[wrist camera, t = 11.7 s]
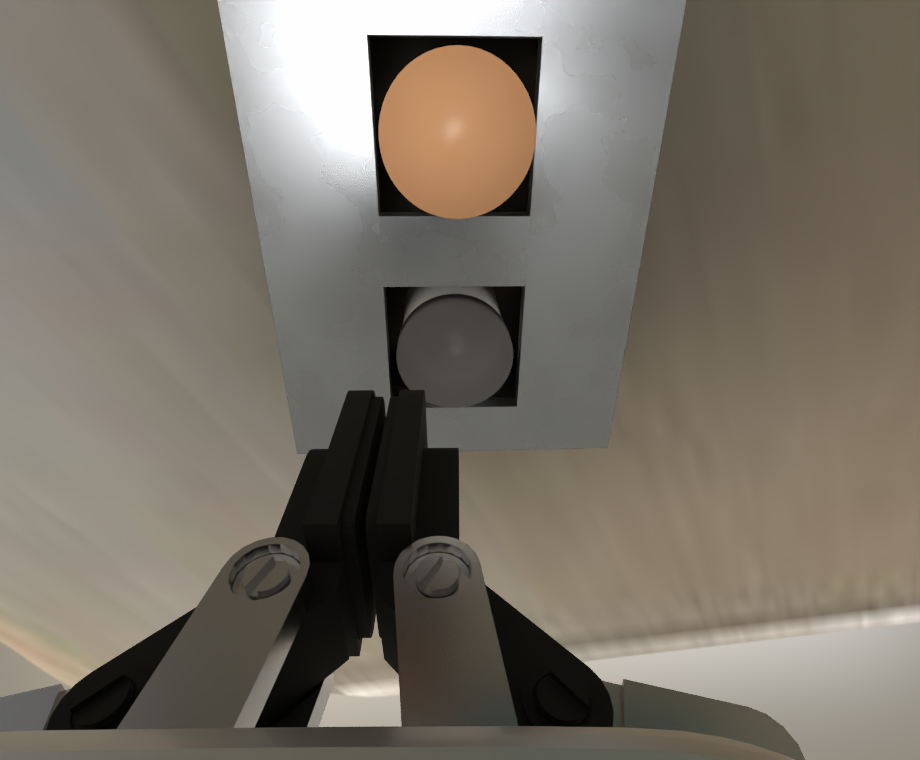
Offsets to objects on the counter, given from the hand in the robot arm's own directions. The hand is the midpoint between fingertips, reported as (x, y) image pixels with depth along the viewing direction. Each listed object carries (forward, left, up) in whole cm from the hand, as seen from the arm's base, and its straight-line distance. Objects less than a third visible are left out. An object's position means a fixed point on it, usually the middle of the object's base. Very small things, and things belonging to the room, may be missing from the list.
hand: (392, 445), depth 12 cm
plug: (-2, +2, -15) cm, 15 cm away
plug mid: (-2, -6, -13) cm, 14 cm away
